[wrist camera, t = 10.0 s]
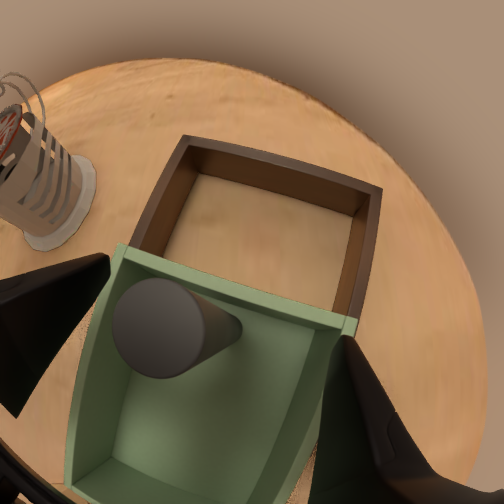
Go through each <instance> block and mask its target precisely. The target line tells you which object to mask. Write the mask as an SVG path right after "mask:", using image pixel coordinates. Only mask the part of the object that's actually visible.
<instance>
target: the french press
mask: <svg viewBox="0 0 504 504" xmlns="http://www.w3.org/2000/svg"><path fill="white" fill-rule="evenodd" d="M9 75H16V76H19V77H21V78H24V79H25V80H26V81H27V82H29V83H30V85H31V86H32V88H33V89H34V91H35V92H36V94H37V95H38V98H39V101H40V104H41V107H42V115H43V122H42V123H41V122H40V121H39V120H38V119H37V117H36V116H35V115H34V114H32V111H31V108H30V105H29V103H28V100H27V98H26V97H25V95H24V94H23V93H22V91H21V90H20V89H19V88H18V87H17V86H15V85H14V84H12V83H11V82H7V81H1V80H2V78H5V77H7V76H9ZM3 84H8V85H9V86H12V87H13V88H14V89H16V90H17V91H18V92H19V94H20V95H21V96H22V97H23V99H24V101H25V103H26V105H27V107H28V110H29V112H30V113H29V112H26V113H24V114H22V105H18V104H14V105H11V106H9V107H8V108H5V109H4V111H1V113H0V165H1V164H2V163H3V161H4V160H5V159H6V158H7V157H9V156H10V155H12V154H13V153H14V154H15V155H16V157H15V158H14V159H13V160H11V161H10V162H9V163H8V164H7V166H6V167H5V168H4V169H3V171H2V172H1V174H0V217H1V218H2V219H4V220H6V221H7V222H9V223H11V224H13V225H15V226H16V227H18V228H20V229H22V230H23V232H24V237H25V240H26V241H27V242H28V244H29V245H30V246H31V247H32V248H33V249H34V250H39V251H45V252H47V251H49V250H52V249H54V248H56V247H59V246H61V245H62V244H63V243H64V242H65V241H66V240H67V239H69V238H70V237H71V236H72V235H73V234H74V233H75V232H76V231H77V229H78V228H79V226H80V224H81V223H82V221H83V220H84V218H85V216H86V215H87V213H88V212H89V209H90V206H91V203H92V200H93V197H94V194H95V191H96V171H95V169H94V167H93V165H92V163H91V161H90V160H89V159H87V158H85V157H83V156H81V155H73V156H70V155H69V154H68V152H67V151H66V150H65V149H64V148H63V147H62V146H61V145H60V144H59V142H58V141H57V140H56V139H55V138H54V137H53V136H52V135H51V133H50V132H49V131H48V130H47V129H46V128H45V107H44V104H43V101H42V98H41V96H40V93H39V91H38V90H37V88H36V87H35V85H34V84H33V83H32V81H31V80H30V79H29V78H27V77H26V76H24V75H22V74H20V73H18V72H10V73H7V74H5V75H3V76H1V77H0V87H1V88H2V93H1V94H0V97H1V96H2V95H3V94H4V93H5V87H4V85H3ZM22 118H23V119H24V120H25V121H26V122H27V123H28V124H29V125H30V127H31V129H30V134H29V133H28V132H27V131H26V130H25V129H24V128H23V127H22V126H21V125H20V123H21V120H22ZM33 130H34V131H33ZM41 139H42V140H43V141H44V142H45V143H46V148H45V150H44V149H43V148H42V147H41ZM8 149H9V150H8ZM51 149H52V150H53V151H54V152H55V158H54V159H53V158H52V157H51V156H50V154H51ZM16 163H17V165H16V166H15V168H14V169H13V171H12V173H11V174H10V176H9V177H8V179H7V180H6V181H5V182H4V180H5V176H6V175H7V173H8V172H9V171H10V169H11V168H12V167H13V166H14V165H15V164H16Z"/></svg>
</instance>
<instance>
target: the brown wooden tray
mask: <svg viewBox="0 0 504 504" xmlns="http://www.w3.org/2000/svg"><path fill="white" fill-rule="evenodd" d="M198 172H199V173H203V174H207V175H212V176H216V177H220V178H224V179H228V180H232V181H236V182H240V183H243V184H247V185H251V186H255V187H258V188H262V189H266V190H269V191H273V192H276V193H280V194H283V195H287V196H290V197H293V198H297V199H300V200H303V201H307V202H310V203H313V204H316V205H320V206H323V207H326V208H329V209H332V210H335V211H338V212H341V213H344V214H347V215H350V216H353V222H352V228H351V233H350V238H349V243H348V247H347V252H346V257H345V261H344V266H343V270H342V274H341V278H340V283H339V287H338V291H337V295H336V298H335V302H334V306H333V310H332V312H334V313H338V314H341V315H345V316H349V317H352V318H356V319H358V322H357V326H356V330H355V333H354V338H355V335H356V331H357V327H358V324H359V320H360V316H361V312H362V308H363V304H364V299H365V295H366V290H367V286H368V281H369V276H370V271H371V266H372V261H373V255H374V249H375V243H376V237H377V231H378V224H379V216H380V208H381V200H382V192H383V189H382V188H380V187H377V186H375V185H372V184H369V183H367V182H364V181H361V180H358V179H355V178H353V177H350V176H347V175H344V174H341V173H338V172H335V171H332V170H329V169H326V168H322V167H319V166H316V165H313V164H309V163H306V162H302V161H299V160H296V159H292V158H288V157H285V156H281V155H277V154H273V153H270V152H266V151H262V150H257V149H253V148H249V147H245V146H240V145H236V144H231V143H227V142H222V141H217V140H212V139H207V138H201V137H196V136H190V135H183V136H182V137H181V139H180V141H179V143H178V144H177V146H176V148H175V150H174V152H173V153H172V155H171V157H170V159H169V161H168V163H167V164H166V166H165V168H164V170H163V172H162V174H161V176H160V178H159V180H158V182H157V184H156V186H155V188H154V190H153V192H152V194H151V196H150V198H149V200H148V202H147V204H146V206H145V209H144V211H143V213H142V215H141V217H140V220H139V222H138V224H137V226H136V229H135V231H134V233H133V236H132V238H131V240H130V243H129V245H128V246H130V247H133V248H136V249H139V250H142V251H144V252H147V253H150V254H153V255H155V256H158V257H162V254H163V252H164V249H165V247H166V244H167V242H168V239H169V237H170V235H171V232H172V230H173V227H174V225H175V223H176V220H177V218H178V216H179V213H180V211H181V209H182V206H183V204H184V202H185V200H186V197H187V195H188V193H189V191H190V189H191V187H192V184H193V182H194V180H195V178H196V176H197V174H198ZM317 442H318V439H317V441H316V444H315V446H314V448H313V450H312V453H311V455H310V457H311V456H312V454H313V451H314V449H315V447H316V445H317Z"/></svg>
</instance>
